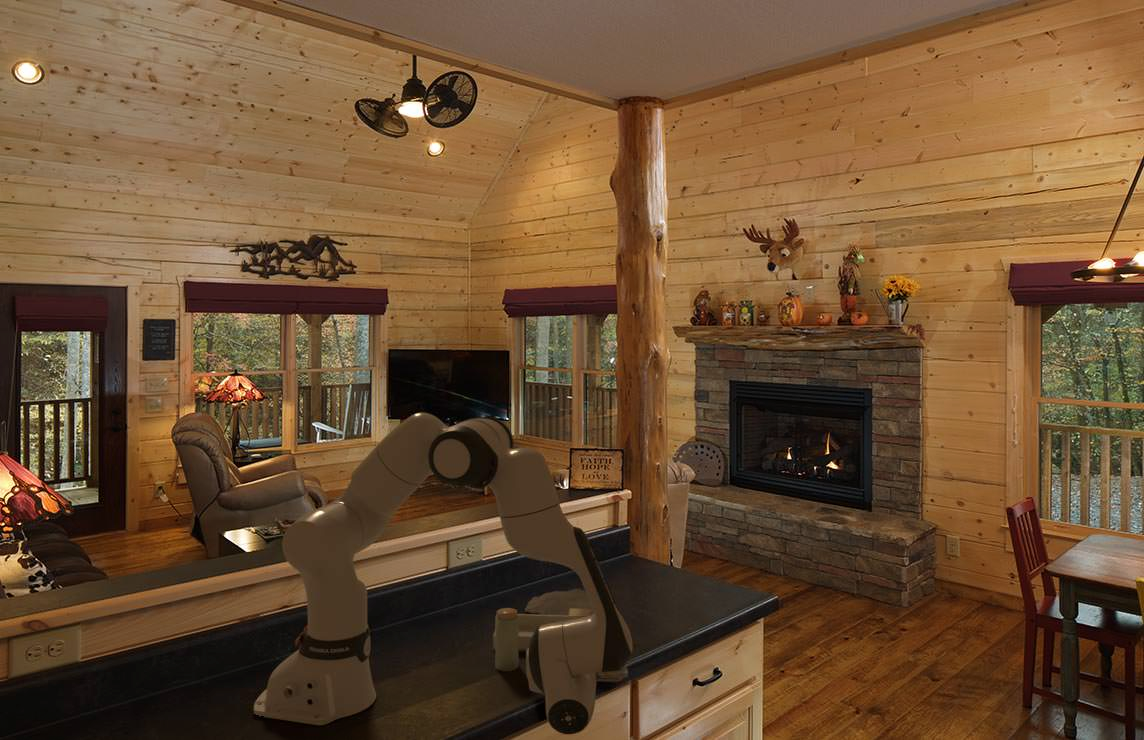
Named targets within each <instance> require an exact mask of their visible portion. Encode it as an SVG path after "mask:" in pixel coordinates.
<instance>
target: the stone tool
mask: <svg viewBox="0 0 1144 740" xmlns="http://www.w3.org/2000/svg"><path fill="white" fill-rule="evenodd" d="M570 608H572V609H590V616H591V615H593V614H594V610H593V608H592V605H591V603H590V601H589V598H588V596H587V593H586V591H585V590H582V589H581V588H572V589H570V590H565V591H564V590H563V591H557V590H556V591H554V590H553V591H551V592H545V593H543V594H542V595H540V596H534V597H532V599H530V600H529V602H528V603H527V604H526V607H525V609H524V612H526V613H529V614H536V615H537V614H538V615H569V611H570Z"/></svg>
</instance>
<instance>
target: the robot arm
mask: <svg viewBox="0 0 1144 740" xmlns="http://www.w3.org/2000/svg"><path fill="white" fill-rule="evenodd" d="M514 442H515V441H514V438H513V434H512V432H511V430H510V427H508V426H507V425H506V423H504V422H503V421H501V420H500V419H498V418H494V417H489V416H480V417H475V418H470V419H465V420H463V421H460V422H458V423H456V424H455V425H452V426H448V425H446V424H445V423H444V422H443V421H442V420H440V419H439V418H438V417H437V416H435V415H433V414H431V413H428V412H417V413H414V414H411V415H410V416H409V417H407V418H406V419H405V420H403V421H402V422H401V423H400V424H398V425H397V426H395V427H394V428H393V429H392V430H390V432H389V433H388V434H387V435H385V437H384V438H382V440H381V441H380V442H379V443H378V444H377V445H376V446H375V447H374V449H372V450H371V452H370V453H369V454H367V456H366V457H365V458H364V459H363V460H362V461H361V462H360V463H359V465H358V466H357V467H356V468H355V469H354V470H353V472H352V473H351V477H350V482H349V483H348V485H347V487H346V489H345V490H344V491H343V493H342V494H341V495H340V496H338V497H337V498H336V499H335V500H333V501H332V502H330V503H328V504H325V505H324V506H320V507H318V508H316V509H313V510H310V511H308V512H306V513H304V514H303V515H301V516H300V517H299V518H298V519H296V520H294V522H293V523H291V525H289V527H287V529H286V530H285V532H284V534H283V536H282V541H281V545H282V546H281V547H282V552H283V555H284V558H285V560H286V561H287V562H288V564H289V565H290V566H291V567H292V568H293V569H295V570H297V571H298V573H299V575H300V576H301V578H302V583H303V585H304V589H305V593H306V601H307V602H306V603H307V625H306V626H304V628H303V631H302V632H301V633H300V634H299V635H298V637H297V638H296V639H295V641H294V642H295V644H294V647H296V648H297V647H298V649H297V650H296V651H295V652H293V653H292V654H290V655H289V656H288V657H287V658H285V659H284V660H283V661H282V662H281V663H279V665H277V667H276V668H275V669H274V670H273V671H272V673H271V674H270V677H269V679H268V681H267V685H266V689H265V690H264V691H262V693H261V694H260V695H259V696H258V697H257V699H256V700H255V702H254V704H253V709H252V710H253V711H254V713H253V715H254V714H256V715H259V716H258V717H261V716H264V717H263V718H267V719H276V720H282V721H288V722H294V723H300V724H308V725H313V726H314V725H315V726H324V725H327V724H329V723H332V722H334V721H335V720H338V719H341V718H346V717H349V716H352V715H356V714H359V713H360V712H363V711H365V710H366V709H367V708H369V707H370V706H372V705H373V704H374V702H375V700H376V698H377V693H376V689H375V687H374V684H373V679H372V673H371V667H370V658H369V657H370V652H371V636H370V635H371V634H370V633H371V632H370V625H369V624H368V591H367V586H366V585H365V583H364V582H362V581H361V580H360V579H359V578H358V576H357V573H356V569H355V565H354V564H355V563H354V557H355V555H356V554H358V553H360V552H361V551H364V550H365V549H367V548H369V547H370V546H371V545H372V544H373V543H374V542H375V541H376V540H377V539H378V538H379V537H380V536H381V535H382V534H383V532H384V530H385V528H386V527H387V525H388V524H389V522H390V521H391V519H392V518H393V516H394V514H395V513H396V512H397V511H398V509H400V507H402V505H403V504H404V503H405V502H406V501H407V500H408V499H409V498H410V497H411V496H412V495H413V493H414V492H416V491H417V490H418V488H419V487H420V486H421V485H422V484H423V483H424V482H425V481H426V480H427V478H428V477H429V476H430V475H431V474H433V475H434V476H435V478H437V479H438V480H439V481H441V482H442V483H445V484H447V485H451V486H456V487H466V488H474V489H481V490H482V489H485V488H486V487H487V486H488V487H489V488H490V489H491V491H492V493H493V494H494V496H495V501H496V505H497V509H498V510H497V511H498V514H499V515H498V516H499V518H500V522H501V528H502V531H503V534H504V537H505V539H506V541H507V544H508V545H509V546H510V547H511V548H512V550H514V551H516V552H517V553H518V554H520V555H522V556H524V557H526V558H529V559H532V560H535V561H536V560H537V561H542V562H547V563H548V562H549V563H553V564H557V565H562V566H565V567H567V568H568V569H571V570H573V571H574V572H575V574H577V576H578V578H580V579H579V580H580V581H581V583H582V587H583V588H584V591H586V593H587V596H588V598H589V601H590V603H591V605H592V608H593V610H594V614H593V615H591V616H588V617H583V618H578V619H573V620H568V621H560V622H555V623H550V624H545V625H541V626H539V627H538V628H537V629H536V630H535V632H534V634H533V636H532V638H531V640H530V644H529V648H528V649H527V650H526V652H525V674H526V678H527V681H528V687H529V691H531V692H533V693H536V694H537V693H538V694H542V695H545V696H544V697H545V699H544V700H545V715H546V718H547V722H548V724H549V725H550V727H551V728H552V729H553V730H554V731H555V732H557V733H560V734H561V735H575V734H579V733H581V732H582V731H584V730H585V729H586V728H587V727H588V726H589V724H590V722H591V721H592V717H593V716H594V715H593V714H594V712H595V711H594V710H595V705H596V696H597V695H596V689H597V682H610V683H614V682H615V683H616V682H620V681H622V680H623V678H628V675H629V670H628V668H627V664H628V662H629V660H631V657H632V655H634V654H633V653H634V651H633V647H634V646H633V639H632V633H631V632H630V629H629V626H628V624H627V623H626V621H625V619H624V618H623V616H622V614H621V612H620V610H619V608H618V605H617V603H616V601H615V598H614V596H613V593H612V591H611V589H610V586H609V584H608V581H607V579H606V576H605V574H604V572H603V570H602V567H601V564H600V562H599V559H598V557H597V556H596V555H597V554H596V553H595V550H594V548H593V546H592V545H591V542H590V540H589V538H588V536H587V534H586V532H585V531H584V530H583V529H582V528H580V527H577V526H574V525H573V524H572V523H571V522H570V521H569V520H568V518H567V517H566V516H565V514H564V512H563V510H562V508H561V504H560V499H559V496H558V492H557V488H556V485H555V481H554V478H553V476H552V473H551V471H550V468H549V466H548V463H547V461H546V459H545V457H544V455H543V454H542V452H540V451H538V450H537V449H534V448H530V447H516V448H514ZM253 711H252V712H253ZM256 715H255V716H256Z"/></svg>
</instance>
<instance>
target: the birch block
mask: <svg viewBox="0 0 1144 740" xmlns="http://www.w3.org/2000/svg"><path fill="white" fill-rule="evenodd" d="M588 616H590V609H572V608H570V611H569V620H573V619H578V618H583V617H588Z"/></svg>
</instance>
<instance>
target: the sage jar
mask: <svg viewBox="0 0 1144 740" xmlns="http://www.w3.org/2000/svg"><path fill="white" fill-rule="evenodd" d="M518 614H519V613H518V610H517V609H515V608H511V607H504V608H500V609H498V610H496V615H495V622H494V623H495V626H494V627H495V629H494V632H495V652H494V653H495V654H494V655H495V657H494V658H495V659H494V660H495V661H494V666H495V669H496V670H497V671H501V672H513V671H515V670H517V669H518V668H519V653H520V651H519V615H518Z"/></svg>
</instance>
